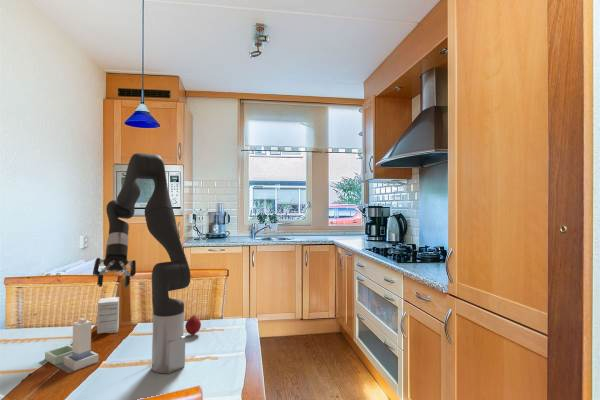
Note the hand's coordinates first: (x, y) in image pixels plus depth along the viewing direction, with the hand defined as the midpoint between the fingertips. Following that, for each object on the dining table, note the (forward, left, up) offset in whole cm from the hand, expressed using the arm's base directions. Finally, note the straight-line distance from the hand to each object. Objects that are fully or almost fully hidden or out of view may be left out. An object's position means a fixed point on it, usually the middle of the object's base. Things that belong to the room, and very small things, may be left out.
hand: (113, 286), depth 125 cm
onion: (-20, -21, -21) cm, 36 cm away
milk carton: (-10, +15, -20) cm, 27 cm away
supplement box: (+12, -5, -21) cm, 25 cm away
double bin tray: (-6, +16, -21) cm, 27 cm away
